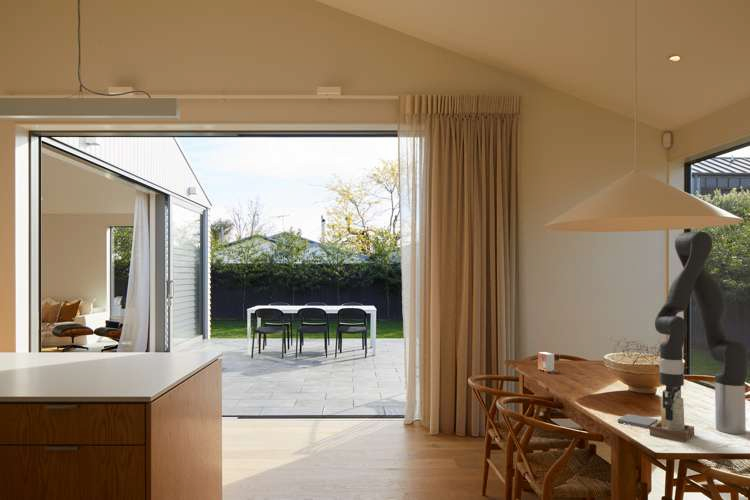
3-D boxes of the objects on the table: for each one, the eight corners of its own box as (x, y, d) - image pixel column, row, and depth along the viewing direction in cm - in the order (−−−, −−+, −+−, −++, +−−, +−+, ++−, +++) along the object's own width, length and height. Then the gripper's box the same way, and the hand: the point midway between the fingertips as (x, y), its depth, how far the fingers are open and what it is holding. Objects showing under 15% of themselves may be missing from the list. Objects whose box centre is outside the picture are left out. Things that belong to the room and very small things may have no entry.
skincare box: (677, 429, 193) (677, 395, 194) (685, 433, 189) (684, 398, 189) (660, 429, 193) (659, 395, 193) (667, 433, 189) (666, 398, 189)
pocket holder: (659, 428, 199) (659, 420, 199) (694, 434, 191) (694, 426, 191) (649, 435, 191) (649, 426, 191) (685, 442, 183) (685, 433, 183)
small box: (537, 370, 311) (537, 352, 311) (546, 369, 313) (545, 351, 313) (546, 372, 303) (546, 354, 304) (554, 372, 305) (554, 353, 305)
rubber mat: (627, 416, 214) (627, 413, 214) (657, 422, 207) (657, 419, 207) (617, 422, 206) (617, 419, 206) (648, 428, 199) (648, 425, 199)
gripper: (677, 375, 184) (678, 424, 183) (688, 369, 194) (689, 415, 194) (654, 372, 189) (654, 419, 189) (665, 367, 199) (666, 411, 199)
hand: (672, 417), depth 191 cm, fingers closed on skincare box, 7 cm apart
